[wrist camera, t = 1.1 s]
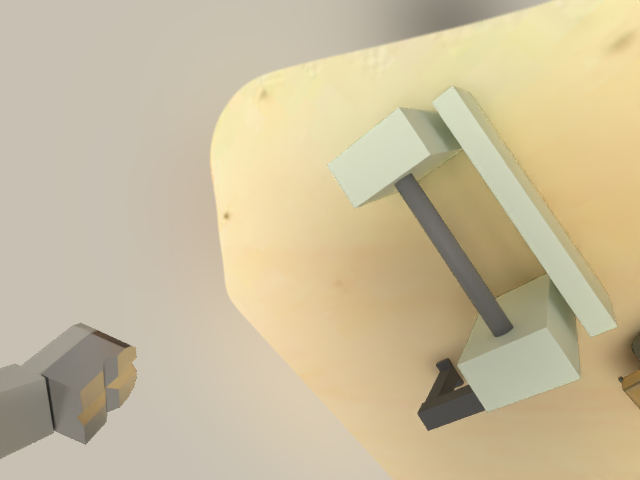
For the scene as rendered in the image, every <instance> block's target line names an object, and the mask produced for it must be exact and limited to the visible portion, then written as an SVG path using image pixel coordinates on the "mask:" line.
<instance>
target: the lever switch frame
mask: <svg viewBox="0 0 640 480" xmlns="http://www.w3.org/2000/svg"><path fill="white" fill-rule="evenodd" d="M431 103H432V104H433V106H434V107H435V109H436V110H437V111H438V113H436V112H429V111H422V110H415V109H408V108H400V107H399V108H398V109H396V110H395V111H394V112H393V113H391V114H390V115H389V116H388V117H386V118H385V119H384V120H383V121H381V122H380V123H379V124H378V125H376V126H375V127H374V128H373V129H371V130H370V131H369V132H368V133H366V134H365V135H364V136H363V137H361V138H360V139H359V140H358V141H356V142H355V143H354V144H353V145H351V146H350V147H349V148H348V149H346V150H345V151H344V152H343V153H341V154H340V155H339V156H338V157H336V158H335V159H334V160H333V161H331V162H330V163H329V164H328V165H327V166H328V168H329V169H330V171H331V172H332V174H333V176H334V177H335V179H336V180H337V182H338V183H339V185H340V186H341V188H342V189H343V191H344V193H345V194H346V196H347V197H348V199H349V200H350V202H351V203H352V205H353V206H354V208H357V207H360V206H362V205H365V204H368V203H370V202H373V201H375V200H378V199H381V198H383V197H386V196H388V195H391V194H394V193H396V192H399V193H400V194H401V196H402V197H403V199H404V200H405V202H406V203H407V205H408V206H409V208H410V209H411V211H412V212H413V214H414V215H415V217H416V218H417V220H418V222H419V223H420V225H421V226H422V228H423V229H424V231H425V232H426V234H427V235H428V237H429V238H430V240H431V241H432V243H433V244H434V246H435V247H436V249H437V250H438V252H439V253H440V255H441V256H442V258H443V259H444V261H445V262H446V264H447V265H448V267H449V268H450V270H451V272H452V273H453V275H454V276H455V278H456V279H457V281H458V282H459V284H460V285H461V287H462V288H463V290H464V291H465V293H466V294H467V296H468V297H469V299H470V300H471V302H472V303H473V305H474V306H475V308H476V309H477V311H478V312H479V316H478V318H477V320H476V322H475V325H474V327H473V329H472V332H471V334H470V336H469V339H468V341H467V343H466V346H465V348H464V350H463V353H462V355H461V357H460V360H459V362H458V364H457V367H458V368H459V370H460V371H461V373H462V374H463V376H464V377H465V379H466V380H467V382H468V384H469V385H470V387H471V388H472V390H473V391H474V393H475V394H476V396H477V397H478V399H479V401H480V402H481V404H482V405H483V407H484V408H485V410H486V411H487V412H490V411H492V410H495V409H498V408H501V407H503V406H506V405H509V404H512V403H515V402H517V401H520V400H523V399H526V398H529V397H531V396H534V395H537V394H540V393H543V392H545V391H548V390H551V389H554V388H556V387H559V386H562V385H565V384H568V383H570V382H573V381H576V380H579V379H581V371H580V360H579V349H578V338H577V327H576V316H577V318H578V319H579V321H580V322H581V324H582V325H583V327H584V328H585V330H586V331H587V333H588V334H589V336H590V337H593V336H596V335H598V334H601V333H603V332H606V331H608V330H611V329H613V328H616V327H618V326H617V323H616V320H615V316H614V313H613V310H612V306H611V303H610V299H609V296H608V293H607V292H606V290H605V289H604V287H603V286H602V285H601V283H600V282H599V280H598V279H597V277H596V276H595V274H594V273H593V271H592V270H591V269H590V267H589V266H588V264H587V263H586V261H585V260H584V258H583V257H582V255H581V254H580V253H579V251H578V250H577V248H576V247H575V245H574V244H573V242H572V241H571V239H570V238H569V237H568V235H567V234H566V232H565V231H564V229H563V228H562V226H561V225H560V223H559V222H558V221H557V219H556V218H555V216H554V215H553V213H552V212H551V210H550V209H549V207H548V206H547V205H546V203H545V202H544V200H543V199H542V197H541V196H540V194H539V193H538V191H537V190H536V189H535V187H534V186H533V184H532V183H531V181H530V180H529V178H528V177H527V175H526V174H525V173H524V171H523V170H522V168H521V167H520V165H519V164H518V162H517V161H516V159H515V158H514V157H513V155H512V154H511V152H510V151H509V149H508V148H507V146H506V145H505V143H504V142H503V141H502V139H501V138H500V136H499V135H498V133H497V132H496V130H495V129H494V127H493V126H492V125H491V123H490V122H489V120H488V119H487V117H486V116H485V114H484V113H483V111H482V110H481V109H480V107H479V106H478V104H477V103H476V101H475V100H474V98H473V97H472V95H471V94H470V93H469V92H466V91H464V90H461V89H459V88H456V87H454V86H452V87H451V88H449V89H448V90H447V91H446V92H444V93H443V94H442V95H440V96H439V97H438V98H437V99H435V100H434V101H433V102H431ZM462 150H464V151H465V153H466V154H467V156H468V157H469V159H470V160H471V162H472V163H473V165H474V166H475V167H476V169H477V170H478V172H479V173H480V175H481V176H482V178H483V179H484V181H485V182H486V184H487V185H488V187H489V188H490V190H491V191H492V193H493V194H494V195H495V197H496V198H497V200H498V201H499V203H500V204H501V206H502V207H503V209H504V210H505V212H506V213H507V215H508V216H509V218H510V219H511V221H512V222H513V223H514V225H515V226H516V228H517V229H518V231H519V232H520V234H521V235H522V237H523V238H524V240H525V241H526V243H527V244H528V246H529V247H530V249H531V250H532V251H533V253H534V254H535V256H536V257H537V259H538V260H539V262H540V263H541V265H542V266H543V268H544V269H545V271H546V272H547V273H546V274H544V275H542V276H540V277H538V278H536V279H534V280H532V281H530V282H528V283H526V284H524V285H521V286H519V287H517V288H515V289H513V290H511V291H509V292H507V293H505V294H503V295H501V296H499V297H497V298H494V296H493V295H492V293H491V292H490V290H489V289H488V287H487V286H486V284H485V283H484V281H483V280H482V278H481V277H480V275H479V274H478V272H477V271H476V269H475V268H474V266H473V265H472V263H471V262H470V260H469V259H468V257H467V256H466V254H465V253H464V251H463V250H462V248H461V247H460V245H459V244H458V242H457V241H456V239H455V238H454V236H453V235H452V233H451V232H450V230H449V229H448V227H447V226H446V224H445V223H444V221H443V220H442V218H441V217H440V215H439V214H438V212H437V211H436V209H435V208H434V206H433V205H432V203H431V202H430V200H429V199H428V197H427V196H426V194H425V193H424V191H423V190H422V188H421V187H420V185H419V184H418V182H417V181H418V180H420V179H421V178H423V177H424V176H426V175H427V174H428V173H430V172H431V171H433V170H434V169H436V168H437V167H439V166H440V165H442V164H443V163H444V162H446V161H447V160H449V159H450V158H452V157H453V156H455V155H456V154H458V153H459V152H460V151H462ZM575 315H576V316H575Z"/></svg>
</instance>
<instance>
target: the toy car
mask: <svg viewBox="0 0 640 480" xmlns="http://www.w3.org/2000/svg"><path fill="white" fill-rule="evenodd" d="M632 350H633V353H634V354H635V356H636V357H637V358H638V359H639V360H640V334H639V335H638V336H637V337H636V339H635V340H634V341H633V344H632ZM618 379H619V381H620V382H621V383H622V388H623V391H624V392H625V393H626V394H627V395H628V396H629V397H630V398H631V400H632V401H633V402H634V403H635V404H636V405H637V406H638V407H639V409H640V370H638V371H636V372H634V373H632V374H630V375H628V376H626V377H624V378H622V377H619V378H618Z"/></svg>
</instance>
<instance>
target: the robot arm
mask: <svg viewBox="0 0 640 480" xmlns="http://www.w3.org/2000/svg"><path fill="white" fill-rule="evenodd" d="M135 358H136V348H135V347H133V346H131V345H129V344H127V343H124V342H122V341H120V340H118V339H116V338H113V337H111V336H109V335H107V334H105V333H102V332H100V331H98V330H96V329H93V328H91V327H89V326H87V325H84V324H82V323H79V324H76V325H73V326H71V327H70V328H69V329H68V330H66V331H65V332H64V333H62V334H61V335H60V336H59V337H57V338H56V339H55V340H53V341H52V342H51V343H50V344H48V345H47V346H46V347H44V348H43V349H42V350H41V351H39V352H38V353H37V354H35V355H34V356H33V357H32V358H30V359H29V360H28V361H26V362H25V363H24V364H23V365H21V366H19V365H17V364H13V365H10V366H7V367H3V368H0V459H1V458H3V457H5V456H7V455H9V454H11V453H13V452H16V451H18V450H20V449H22V448H24V447H26V446H28V445H30V444H32V443H34V442H36V441H38V440H40V439H42V438H44V437H47V436H49V435H51V434H53V433H54V431H56V432H58V433H60V434H63V435H65V436H67V437H69V438H72V439H74V440H76V441H79V442H81V443H83V444H87V443H88V441H89V440H90V439H91V438H92V437H93V436H94V435H95V434H96V433H97V432H98V431H99V430H100V428H101V427H102V426H103V425H104V424H105V423H106V420H107V412H109V411H111V410H114V409H117V408H119V407H120V406H121V405H122V404H123V403H124V402H125V401H126V399H127V398H128V397H129V395H130V393H131V391H132V390H133V388H134V385H135V382H136V378H137V370H136V369H135V367H134V365H133V364H132V362H133V361H134V360H135Z"/></svg>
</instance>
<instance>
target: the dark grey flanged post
mask: <svg viewBox="0 0 640 480" xmlns="http://www.w3.org/2000/svg"><path fill="white" fill-rule="evenodd" d="M436 366H437V368H438V369H439V371H440V373H439V375H438V377H437V379H436V381H435V383H434V385H433V387H432V389H431V391H430V393H429V395H428V397H427V399H426V401H425V403H422V405H421V407H420V409H419V411H418V413H417V414H418V415H419V417H420V419H421V420H422V422H423V423H424V425H425V426H426V428H427V430H428V431H429V430H432V429H435V428H438V427H440V426H443V425H446V424H449V423H451V422H454V421H457V420H460V419H462V418H465V417H468V416H471V415H473V414H476V413H479V412H482V411H485V408H484V407H483V405H482V404H481V402H480V401H479V399H478V397H477V396H476V394H475V393H474V391H473V390H472V388H471V387H470V385H467V386H465V387H462V388H460V389H457V390H455V391H454V388H456V387H458V386H461V385H463V383H464V382H463V381H462V379H461V378H460V376H459V374H458V373H457V371H456V370H455V368H454V367H453V365H452V364H451V362H450V361H449V359H448V358H447V359H445V360H443V361H441V362H438V363H437V364H436Z"/></svg>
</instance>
